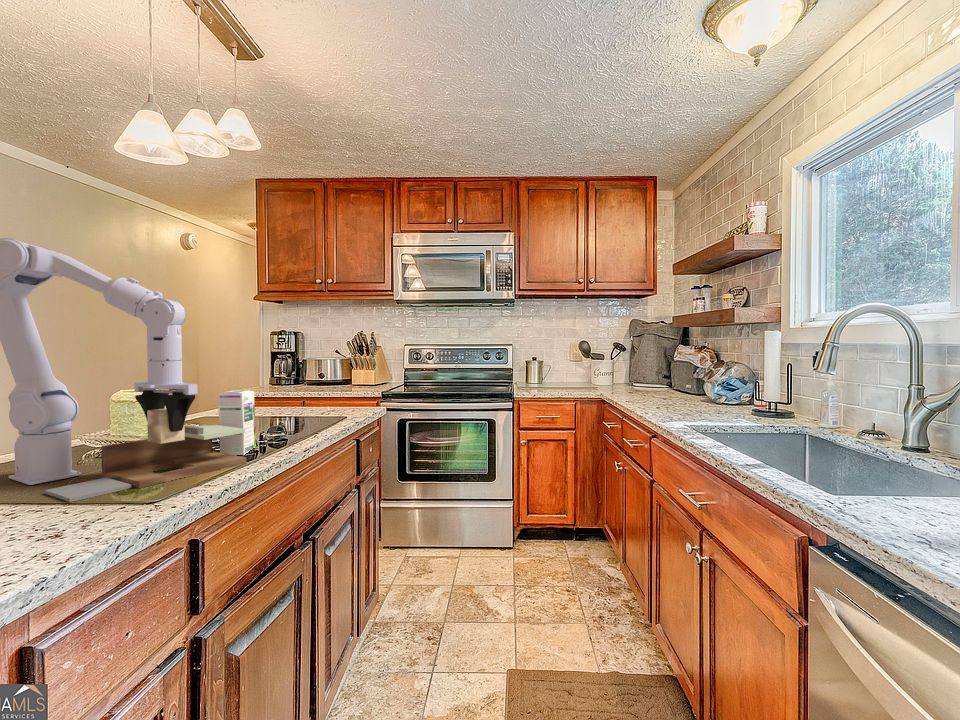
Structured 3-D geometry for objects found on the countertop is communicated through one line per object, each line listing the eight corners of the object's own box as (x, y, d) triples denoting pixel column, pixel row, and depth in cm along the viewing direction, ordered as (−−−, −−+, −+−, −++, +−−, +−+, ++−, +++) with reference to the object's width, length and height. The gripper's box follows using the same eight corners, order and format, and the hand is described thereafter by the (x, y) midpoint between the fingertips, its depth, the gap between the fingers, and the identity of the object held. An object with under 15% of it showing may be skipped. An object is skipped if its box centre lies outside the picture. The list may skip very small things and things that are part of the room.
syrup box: (244, 456, 112) (243, 392, 111) (218, 455, 112) (217, 392, 111) (256, 450, 117) (255, 389, 117) (231, 450, 117) (230, 389, 117)
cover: (169, 434, 104) (169, 424, 104) (210, 427, 112) (210, 418, 111) (204, 439, 98) (204, 429, 98) (245, 432, 106) (244, 423, 106)
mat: (44, 493, 84) (44, 490, 84) (105, 480, 92) (105, 477, 92) (69, 502, 79) (69, 498, 79) (131, 487, 87) (131, 484, 87)
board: (102, 478, 93) (101, 446, 93) (209, 455, 112) (208, 429, 111) (139, 488, 87) (138, 454, 87) (246, 463, 105) (245, 434, 105)
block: (147, 441, 96) (147, 410, 95) (171, 437, 100) (171, 407, 99) (160, 443, 93) (160, 412, 93) (184, 439, 97) (184, 409, 97)
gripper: (118, 360, 95) (119, 430, 95) (173, 362, 90) (174, 436, 90) (153, 359, 101) (154, 425, 102) (206, 360, 96) (207, 429, 97)
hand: (166, 430), depth 96 cm, fingers closed on block, 5 cm apart
